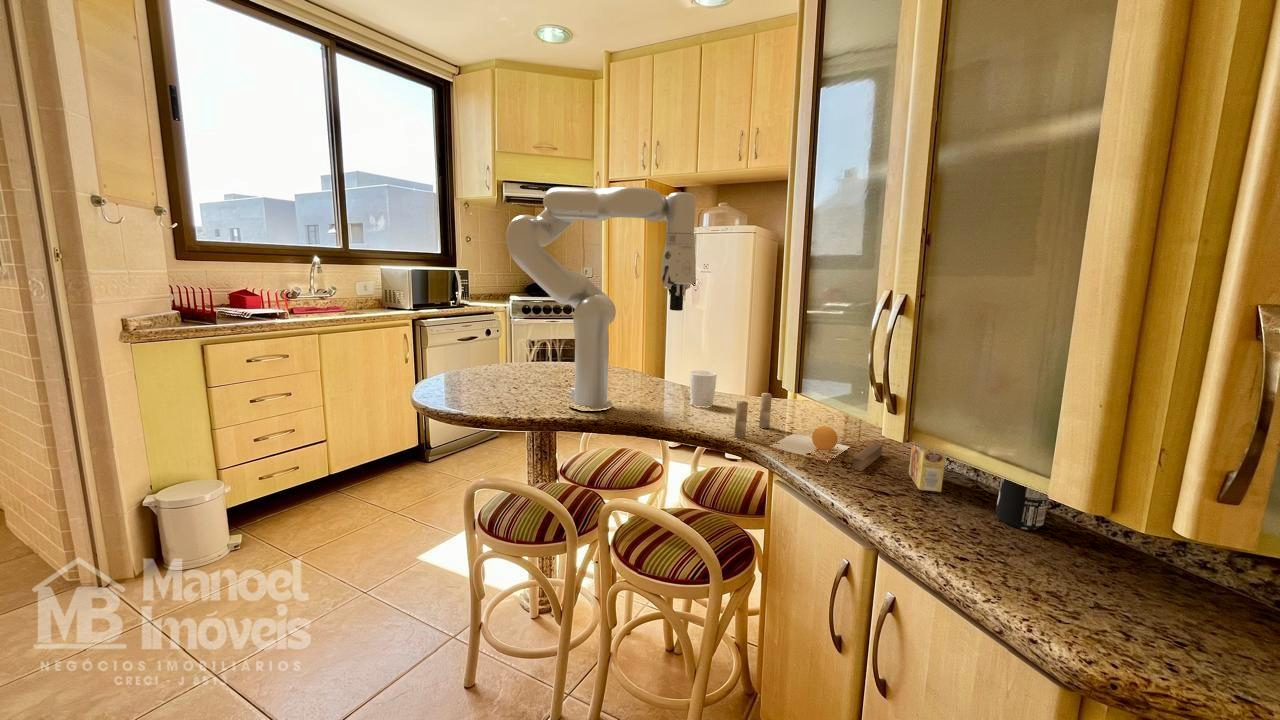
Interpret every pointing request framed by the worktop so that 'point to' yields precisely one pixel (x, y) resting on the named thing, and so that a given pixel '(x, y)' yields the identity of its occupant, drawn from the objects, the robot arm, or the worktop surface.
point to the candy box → (926, 469)
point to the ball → (824, 438)
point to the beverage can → (1020, 506)
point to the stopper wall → (867, 456)
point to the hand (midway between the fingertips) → (676, 310)
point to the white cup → (702, 387)
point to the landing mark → (803, 445)
